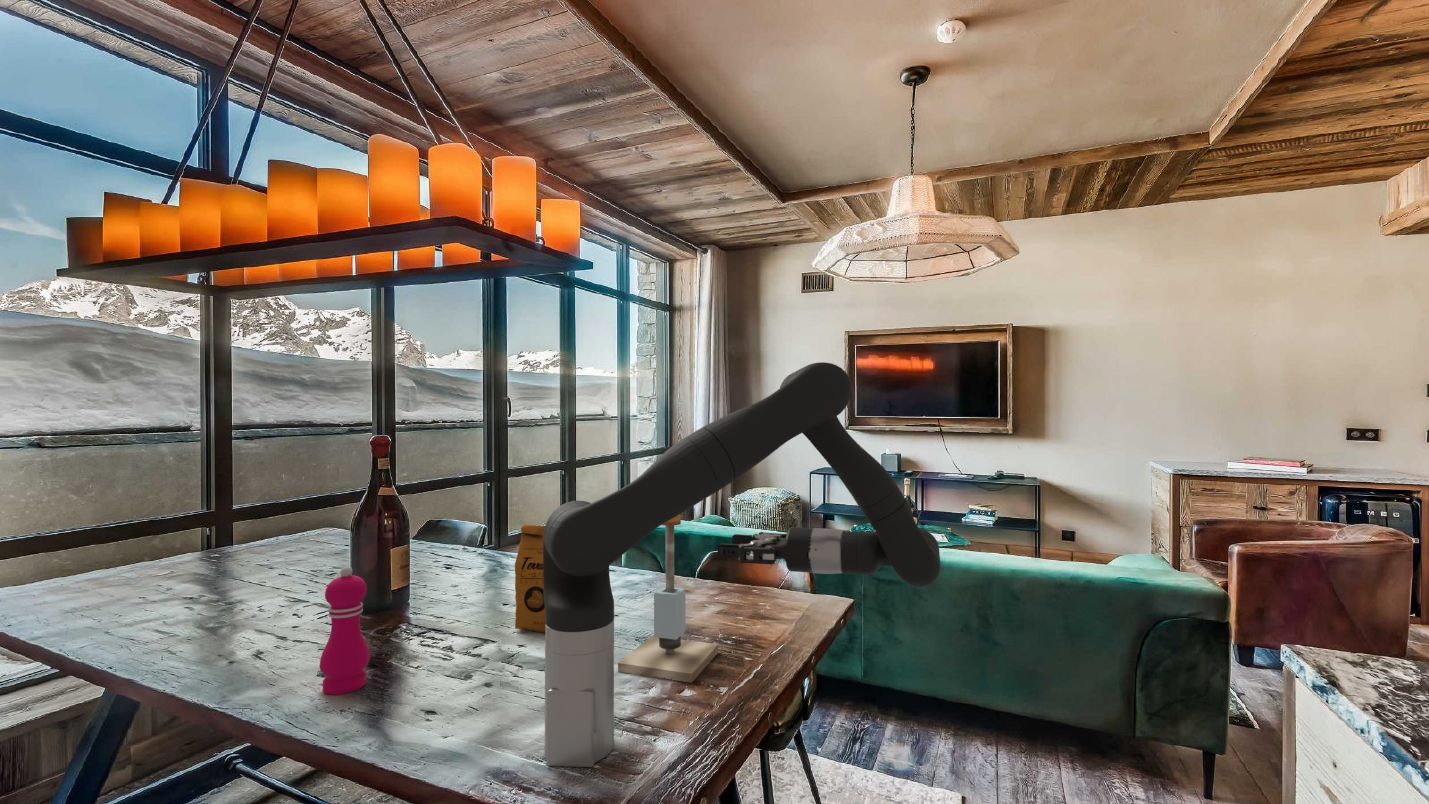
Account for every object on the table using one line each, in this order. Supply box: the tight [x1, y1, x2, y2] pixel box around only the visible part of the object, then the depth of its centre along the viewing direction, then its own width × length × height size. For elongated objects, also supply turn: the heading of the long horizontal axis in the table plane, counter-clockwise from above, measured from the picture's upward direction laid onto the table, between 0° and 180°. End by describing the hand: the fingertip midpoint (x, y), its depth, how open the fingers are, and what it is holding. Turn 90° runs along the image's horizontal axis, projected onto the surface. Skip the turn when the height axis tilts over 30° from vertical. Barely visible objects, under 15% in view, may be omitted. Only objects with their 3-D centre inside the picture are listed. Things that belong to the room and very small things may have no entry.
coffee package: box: [514, 524, 546, 634], centre depth 130 cm, size 10×12×22 cm
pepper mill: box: [319, 566, 371, 695], centre depth 102 cm, size 7×7×20 cm
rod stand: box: [617, 514, 719, 683], centre depth 112 cm, size 14×14×35 cm
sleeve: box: [653, 586, 686, 640], centre depth 112 cm, size 4×4×8 cm
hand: (725, 545), depth 109 cm, fingers open, 8 cm apart
